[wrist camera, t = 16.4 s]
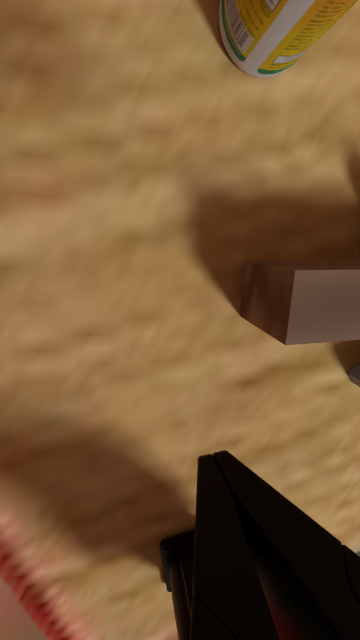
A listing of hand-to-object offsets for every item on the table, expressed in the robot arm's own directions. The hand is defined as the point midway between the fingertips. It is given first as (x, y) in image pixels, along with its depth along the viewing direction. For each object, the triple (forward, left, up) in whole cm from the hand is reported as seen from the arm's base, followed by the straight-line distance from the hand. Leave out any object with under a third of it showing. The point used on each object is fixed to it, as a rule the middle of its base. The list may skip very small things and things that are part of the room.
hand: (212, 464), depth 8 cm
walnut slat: (+1, -16, -12) cm, 21 cm away
